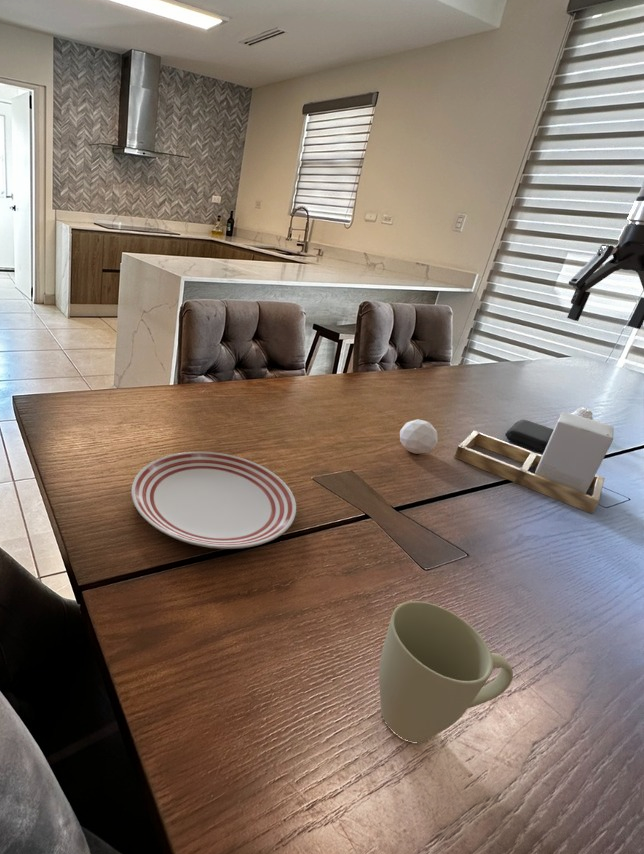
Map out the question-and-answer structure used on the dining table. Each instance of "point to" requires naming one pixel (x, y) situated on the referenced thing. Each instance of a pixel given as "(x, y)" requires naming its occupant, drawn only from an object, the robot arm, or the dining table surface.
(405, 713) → the mug
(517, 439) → the carrying case
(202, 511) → the dinner plate
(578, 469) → the rectangular carton
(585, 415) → the muffin
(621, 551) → the dining table surface
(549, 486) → the rack
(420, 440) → the geometric ball
